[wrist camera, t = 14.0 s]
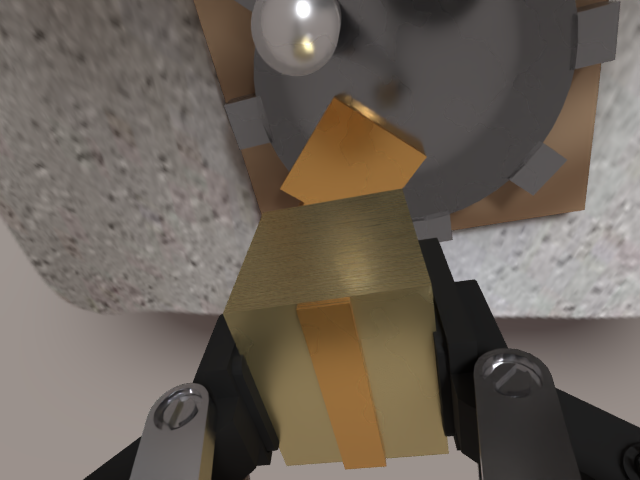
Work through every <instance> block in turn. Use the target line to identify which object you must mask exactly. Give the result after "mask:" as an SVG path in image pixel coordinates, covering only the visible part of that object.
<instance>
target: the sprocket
mask: <svg viewBox="0 0 640 480" xmlns="http://www.w3.org/2000/svg"><path fill="white" fill-rule="evenodd" d="M234 1H236V2H238V3H239V4H241V5H242V6H244V7H245V8H247V9H248V10H250V11H251V12H252V17H251V32H252V38H253V41H254V44H255V52H254V86H255V93H252V94H248V95H245V96H241V97H237V98H233V99H231V100H229V101H228V102H227V103H226V104H225V105H224V107H225V110H226V113H227V116H228V118H229V121H230V124H231V127H232V130H233V132H234V135H235V138H236V141H237V143H238V146H239V149H240V150H241V149H246V148H250V147H254V146H258V145H262V144H266V143H271V144H272V146H273V148H274V150H275V152H276V154H277V156H278V157H279V158H280V160H281V161H282V163H283V164H284V165H285V167H286V168H287V170H288V171H289V173H288V175H287V177H286V178H285V180H284V182H283V183H282V185H281V187H280V189H281V190H283V191H284V192H286V193H288V194H290V195H292V196H293V197H295V198H297V199H299V200H301V202H300V203H299V205H298V206H304V205H310V204H315V203H321V202H327V201H333V200H338V199H344V198H350V197H356V196H361V195H367V194H373V193H379V192H384V191H390V190H396V189H403V193H404V196H405V199H406V202H407V206H408V209H409V212H410V216H411V219H412V222H413V225H414V229H415V232H416V235H417V238H418V240H423V239H429V238H436V237H437V238H438V241H439V242H443V241H449V240H453V239H452V230H451V221H450V214H451V213H454V212H456V211H459V210H462V209H464V208H466V207H468V206H470V205H472V204H474V203H476V202H478V201H480V200H482V199H483V198H485V197H487V196H488V195H490V194H491V193H493V192H494V191H496V190H497V189H499V188H500V187H501V186H502V185H504V184H505V183H506V182H507V181H509V180H510V181H512V182H513V183H515V184H516V185H518V186H519V187H521V188H522V189H524V190H525V191H527V192H528V193H530V194H531V195H533V196H534V195H535V193H536V192H537V191H538V190H539V189H540V188H541V187H542V186H543V185H544V184H545V183H546V182H547V181H548V180H549V179H550V178H551V177H552V176H553V175H554V174H555V173H556V172H557V171H558V170H559V168H560V167H561V166H562V165H563V164H564V163H565V162H566V161H567V159H566V158H564V157H563V156H561V155H560V154H559V153H557V152H556V151H555V150H553V149H552V148H550V147H549V146H547V145H546V144H544V143H543V142H544V140H545V139H546V137H547V136H548V134H549V133H550V131H551V130H552V128H553V126H554V124H555V122H556V120H557V118H558V116H559V114H560V112H561V110H562V108H563V105H564V103H565V100H566V97H567V95H568V92H569V89H570V86H571V82H572V78H573V74H574V69H578V68H583V67H587V66H591V65H595V64H599V63H603V62H608V61H612V60H615V54H616V43H617V32H618V21H619V10H620V2H615V1H601V2H597V3H593V4H590V5H586V6H582V7H578V8H576V2H575V0H234Z"/></svg>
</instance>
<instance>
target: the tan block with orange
mask: <svg viewBox="0 0 640 480" xmlns="http://www.w3.org/2000/svg"><path fill="white" fill-rule="evenodd" d="M223 315H224V318H225V320H226V322H227V325H228V327H229V330H230V332H231V334H232V337H233V339H234V341H235V344H236V346H237V349H238V351H239V353H240V355H242V354H243V355H244V357H245V360H246V362H247V365H248V367H249V369H250V372H251V374H252V377H253V379H254V381H255V384H256V386H257V389H258V391H259V394H260V396H261V398H262V401H263V403H264V406H265V408H266V410H267V413H268V415H269V418H270V420H271V423H272V425H273V427H274V430H275V432H276V435H277V437H278V439H279V442H280V444H279V448H280V451H281V453H282V456H283V458H284V460H285V463H286V465H287V466H291V465H304V464H317V463H331V462H343V464H344V467H345V469H357V468H371V467H384V466H386V458H397V457H411V456H424V455H437V454H448V453H449V451H448V443H447V436H446V437H445V435H444V431H443V424H442V414H441V405H440V395H439V386H438V376H437V367H436V357H435V348H434V338H433V332H435V331H436V322H435V312H434V302H433V292H432V284H431V281H430V278H429V275H428V271H427V268H426V265H425V261H424V258H423V255H422V252H421V248H420V245H419V242H418V238H417V235H416V232H415V229H414V225H413V222H412V219H411V216H410V212H409V209H408V206H407V202H406V199H405V196H404V193H403V189H396V190H390V191H384V192H379V193H373V194H367V195H361V196H356V197H350V198H344V199H338V200H333V201H327V202H321V203H315V204H310V205H304V206H298V207H292V208H286V209H281V210H275V211H269V212H263V214H262V217H261V219H260V222H259V225H258V227H257V230H256V232H255V235H254V237H253V240H252V242H251V245H250V247H249V250H248V252H247V255H246V257H245V260H244V262H243V265H242V267H241V270H240V272H239V275H238V277H237V280H236V282H235V285H234V287H233V290H232V292H231V295H230V297H229V300H228V302H227V305H226V307H225V310H224V312H223Z"/></svg>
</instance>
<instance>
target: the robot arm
mask: <svg viewBox="0 0 640 480" xmlns="http://www.w3.org/2000/svg"><path fill="white" fill-rule="evenodd" d="M418 242H419V245H420V248H421V252H422V255H423V258H424V261H425V265H426V268H427V271H428V275H429V278H430V281H431V284H432V292H433V302H434V312H435V322H436V331H435V332H433V338H434V348H435V357H436V367H437V376H438V386H439V395H440V405H441V414H442V424H443V431H444V435H445V437H446V436H454V440H455V444H456V448H457V450H461V452H462V453H463V454H465V455H466V456H468V457H469V458H471V459H472V460H473V461H475V462H477V464H478V477H479V480H640V428H639V427H637V426H635V425H633V424H631V423H629V422H627V421H625V420H622V419H620V418H618V417H616V416H614V415H612V414H610V413H608V412H606V411H604V410H601V409H599V408H597V407H595V406H593V405H591V404H589V403H587V402H585V401H582V400H580V399H578V398H576V397H574V396H572V395H570V394H568V393H566V392H564V391H561V390H559V389H557V388H555V385H554V382H553V378H552V375H551V373H550V371H549V369H548V368H547V367H546V365H545V364H544V363H543V362H542V361H541V360H540V359H538V358H536V357H535V356H533V355H532V354H530V353H527V352H524V351H521V350H518V349H509V348H508V347H507V345H506V343H505V341H504V339H503V337H502V334H501V332H500V330H499V328H498V326H497V323H496V322H495V319H494V317H493V315H492V313H491V311H490V308H489V306H488V304H487V302H486V300H485V298H484V296H483V293H482V291H481V289H480V287H479V285H478V283H477V281H476V280H475V279H474V280H466V281H459V282H454V280H453V277H452V274H451V272H450V269H449V267H448V264H447V261H446V259H445V256H444V254H443V251H442V248H441V246H440V243H439V241H438V238H437V237H436V238H429V239H423V240H418ZM279 444H280V442H279V439H278V437H277V435H276V432H275V430H274V427H273V425H272V423H271V420H270V418H269V415H268V413H267V410H266V408H265V406H264V403H263V401H262V398H261V396H260V394H259V391H258V389H257V386H256V384H255V381H254V379H253V377H252V374H251V372H250V369H249V367H248V365H247V362H246V360H245V357H244V355H243V354H242V355H240V353H239V351H238V349H237V346H236V344H235V341H234V339H233V337H232V334H231V332H230V330H229V327H228V325H227V322H226V320H225V318H224V315H223V314H222V315H220V316H219V318H218V320H217V323H216V325H215V328H214V330H213V333H212V335H211V338H210V340H209V343H208V345H207V348H206V350H205V353H204V355H203V358H202V360H201V363H200V366H199V368H198V370H197V373H196V375H195V378H194V381H193V383H187V384H182V385H179V386H176V387H174V388H172V389H171V390H169V391H167V392H166V393H164V394H163V395H162V396H161V397H160V398H159V399H158V400H157V401H156V402H155V403H154V405H153V406H152V407H151V409H150V412H149V414H148V416H147V420H146V423H145V427H144V430H143V433H142V436H141V437H140V438H138V439H137V440H136V441H134V442H133V443H132V444H130V445H129V446H128V447H126V448H125V449H123V450H122V451H121V452H119V453H118V454H117V455H115V456H114V457H113V458H111V459H110V460H109V461H107V462H106V463H105V464H103V465H102V466H101V467H99V468H98V469H97V470H96V471H94V472H93V473H91V474H90V475H89V476H87V477H86V478H85V479H84V480H250V475H249V474H250V473H251V472H252V471H253V470H254V469H255V468H256V466H261V465H270V463H271V456H272V451H275V450H278V448H279Z"/></svg>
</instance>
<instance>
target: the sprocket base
mask: <svg viewBox="0 0 640 480" xmlns="http://www.w3.org/2000/svg"><path fill="white" fill-rule="evenodd" d="M193 1H194V4H195V7H196V10H197V13H198V16H199V19H200V23H201V26H202V29H203V32H204V35H205V38H206V41H207V45H208V48H209V51H210V54H211V57H212V60H213V64H214V67H215V70H216V73H217V76H218V79H219V82H220V86H221V89H222V92H223V95H224V98H225V101H226V103H227V102H228V101H229V100H231V99H233V98H237V97H241V96H245V95H248V94H252V93H255V86H254V52H255V44H254V41H253V38H252V32H251V17H252V12H251V11H250V10H248V9H247V8H245V7H244V6H242V5H241V4H239V3H238V2H236V1H234V0H193ZM601 1H609V0H575V2H576V8H578V7H582V6H586V5H590V4H593V3H597V2H601ZM600 70H601V63H599V64H595V65H591V66H587V67H583V68H578V69H574V74H573V78H572V82H571V86H570V89H569V92H568V95H567V97H566V100H565V103H564V105H563V108H562V110H561V112H560V114H559V116H558V118H557V120H556V122H555V124H554V126H553V128H552V130H551V131H550V133H549V134H548V136H547V137H546V139H545V140H544V142H543V143H544V144H546V145H547V146H549V147H550V148H552V149H553V150H555V151H556V152H557V153H559V154H560V155H561V156H563V157H564V158H566V159H567V161H566V162H565V163H564V164H563V165H562V166H561V167H560V168H559V170H558V171H557V172H556V173H555V174H554V175H553V176H552V177H551V178H550V179H549V180H548V181H547V182H546V183H545V184H544V185H543V186H542V187H541V188H540V189H539V190H538V191H537V192H536V193H535V195H534V196H533V195H531V194H530V193H528V192H527V191H525V190H524V189H522V188H521V187H519V186H518V185H516V184H515V183H513V182H512V181H510V180H509V181H507V182H506V183H505V184H504V185H502V186H501V187H500V188H499V189H497V190H496V191H494V192H493V193H491V194H490V195H488V196H487V197H485V198H483V199H482V200H480V201H478V202H476V203H474V204H472V205H470V206H468V207H466V208H464V209H462V210H459V211H456V212H454V213H451V214H450V221H451V230H458V229H464V228H471V227H477V226H484V225H490V224H497V223H503V222H510V221H516V220H522V219H529V218H535V217H542V216H548V215H555V214H561V213H568V212H574V211H580V210H585V201H586V192H587V184H588V175H589V166H590V157H591V149H592V140H593V131H594V123H595V114H596V105H597V96H598V88H599V79H600ZM241 152H242V155H243V158H244V161H245V164H246V167H247V171H248V174H249V177H250V180H251V183H252V186H253V189H254V193H255V196H256V199H257V202H258V205H259V208H260V212H261V215H262V214H263V212H269V211H275V210H281V209H286V208H292V207H298V205H299V203H300V202H301V200H299V199H297V198H295V197H293V196H292V195H290V194H288V193H286V192H284V191H283V190H281V189H280V187H281V185H282V183H283V182H284V180H285V178H286V177H287V175H288V173H289V171H288V170H287V168H286V167H285V165H284V164H283V163H282V161H281V160H280V158H279V157H278V156H277V154H276V152H275V150H274V148H273V146H272V144H271V143H266V144H262V145H258V146H254V147H250V148H246V149H241Z"/></svg>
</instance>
